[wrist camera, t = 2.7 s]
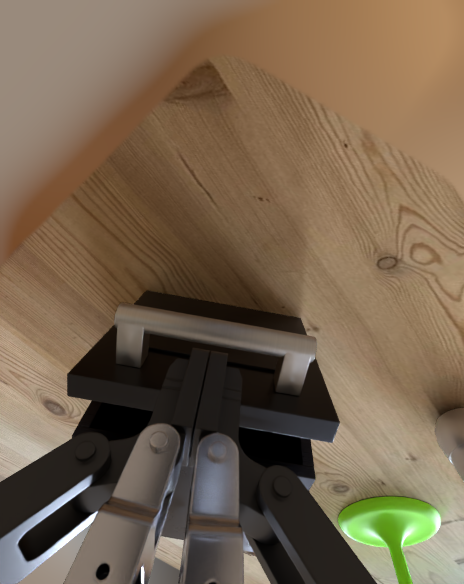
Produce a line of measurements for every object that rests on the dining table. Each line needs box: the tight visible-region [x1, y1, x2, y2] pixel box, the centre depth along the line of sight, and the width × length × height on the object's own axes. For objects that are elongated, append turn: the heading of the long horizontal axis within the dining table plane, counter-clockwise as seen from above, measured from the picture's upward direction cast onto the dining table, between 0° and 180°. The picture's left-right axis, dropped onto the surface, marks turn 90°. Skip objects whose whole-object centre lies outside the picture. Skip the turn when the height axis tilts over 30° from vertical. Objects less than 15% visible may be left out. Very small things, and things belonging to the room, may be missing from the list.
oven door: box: [67, 291, 340, 443], centre depth 24 cm, size 5×16×15 cm, turn 81°
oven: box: [72, 401, 316, 552], centre depth 30 cm, size 13×16×15 cm
